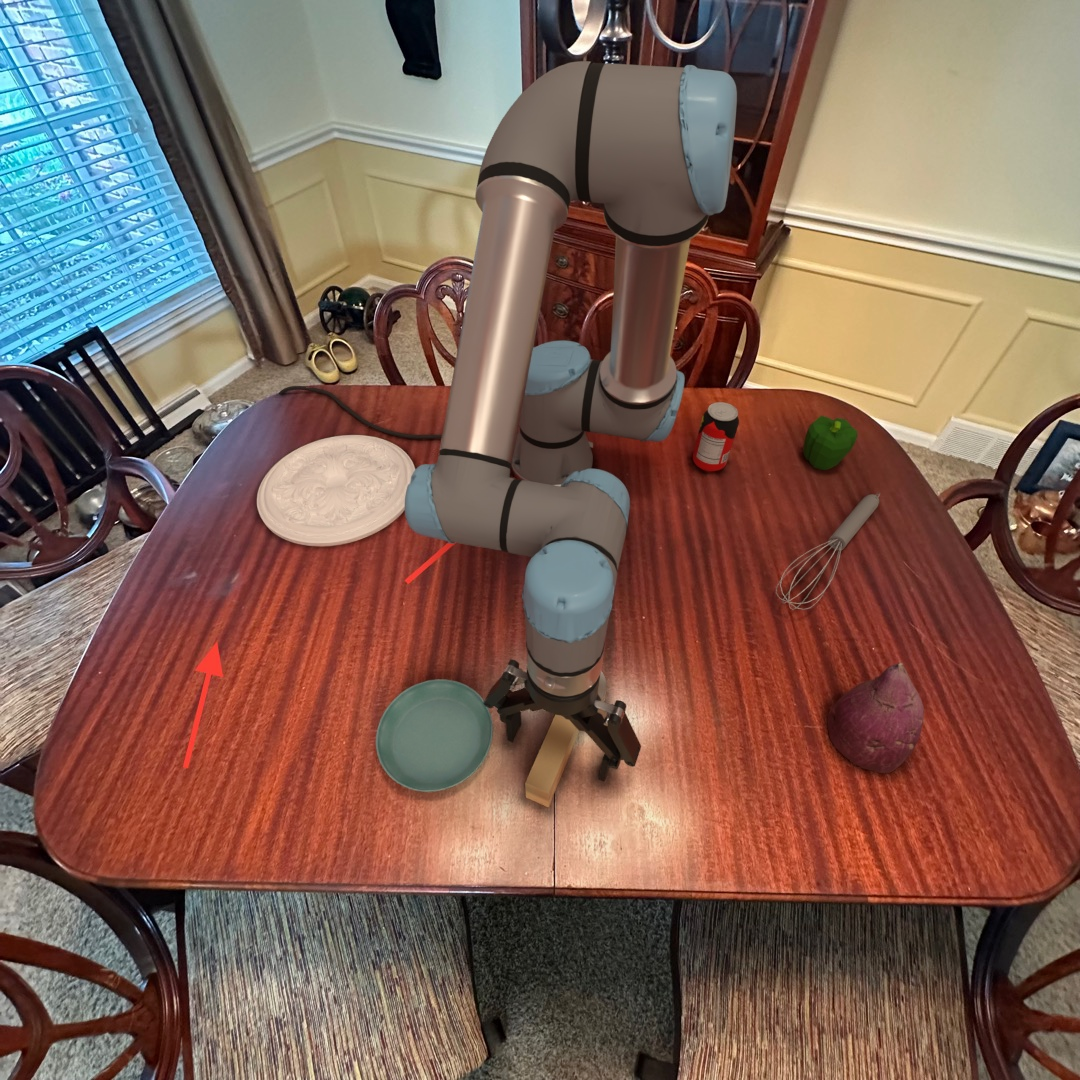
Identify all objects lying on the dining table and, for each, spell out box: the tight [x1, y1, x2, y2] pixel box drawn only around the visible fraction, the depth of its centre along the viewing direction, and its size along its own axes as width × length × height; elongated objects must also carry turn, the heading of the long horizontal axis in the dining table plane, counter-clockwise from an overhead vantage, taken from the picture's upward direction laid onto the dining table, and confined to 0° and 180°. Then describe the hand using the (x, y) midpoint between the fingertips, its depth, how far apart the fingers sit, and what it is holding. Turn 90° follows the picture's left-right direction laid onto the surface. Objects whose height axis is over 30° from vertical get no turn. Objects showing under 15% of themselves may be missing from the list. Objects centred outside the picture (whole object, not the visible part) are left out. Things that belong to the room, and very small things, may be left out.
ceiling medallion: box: [256, 434, 416, 547], centre depth 108 cm, size 28×28×3 cm
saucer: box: [375, 678, 494, 793], centre depth 77 cm, size 15×15×3 cm
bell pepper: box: [802, 415, 858, 471], centre depth 110 cm, size 8×8×10 cm
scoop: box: [524, 670, 608, 808], centre depth 76 cm, size 18×6×5 cm, turn 157°
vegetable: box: [826, 662, 925, 774], centre depth 75 cm, size 10×10×15 cm
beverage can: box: [692, 401, 740, 472], centre depth 108 cm, size 6×6×12 cm
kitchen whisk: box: [775, 492, 881, 611], centre depth 96 cm, size 6×34×6 cm, turn 137°
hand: (558, 751), depth 77 cm, fingers open, 12 cm apart
